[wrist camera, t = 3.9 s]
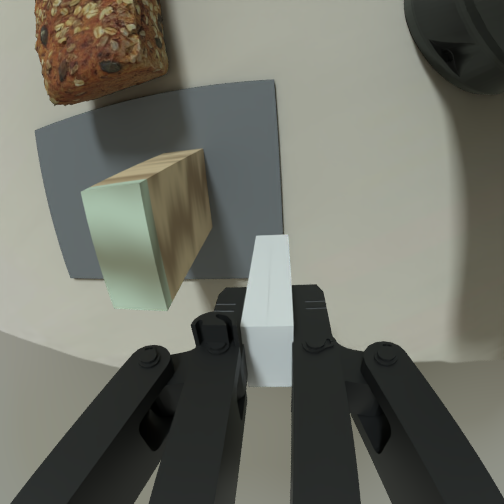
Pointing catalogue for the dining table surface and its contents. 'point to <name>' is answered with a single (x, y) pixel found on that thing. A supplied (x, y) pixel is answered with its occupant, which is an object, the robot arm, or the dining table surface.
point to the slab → (149, 227)
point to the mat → (164, 141)
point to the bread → (98, 46)
